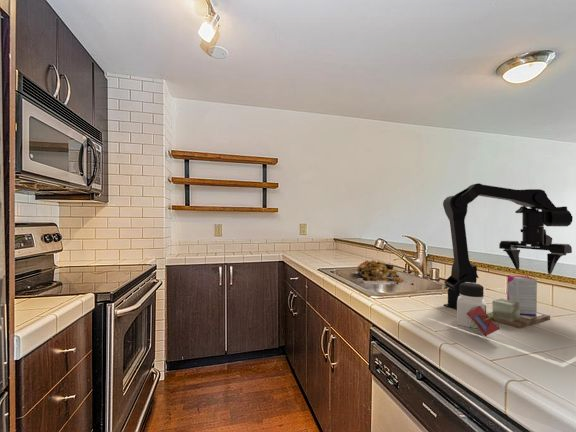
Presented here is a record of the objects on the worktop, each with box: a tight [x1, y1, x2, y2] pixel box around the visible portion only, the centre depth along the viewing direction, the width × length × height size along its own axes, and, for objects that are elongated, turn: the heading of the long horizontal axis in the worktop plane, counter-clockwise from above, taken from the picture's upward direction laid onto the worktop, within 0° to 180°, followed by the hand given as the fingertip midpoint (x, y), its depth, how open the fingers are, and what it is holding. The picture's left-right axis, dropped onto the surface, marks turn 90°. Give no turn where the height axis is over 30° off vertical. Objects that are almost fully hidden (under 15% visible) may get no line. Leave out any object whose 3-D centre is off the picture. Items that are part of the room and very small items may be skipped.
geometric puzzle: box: [466, 306, 501, 337], centre depth 80 cm, size 7×7×8 cm
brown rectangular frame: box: [486, 298, 551, 329], centre depth 94 cm, size 18×10×6 cm, turn 117°
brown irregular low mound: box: [351, 259, 415, 286], centre depth 157 cm, size 35×26×11 cm
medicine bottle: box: [456, 282, 487, 330], centre depth 89 cm, size 7×7×12 cm
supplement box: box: [506, 275, 538, 316], centre depth 95 cm, size 6×6×12 cm
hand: (533, 271), depth 102 cm, fingers open, 9 cm apart
